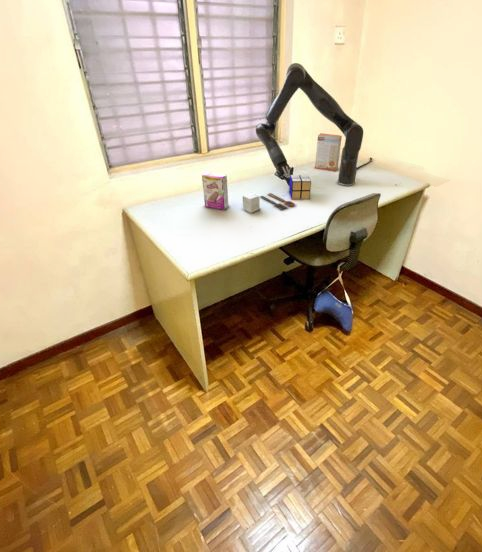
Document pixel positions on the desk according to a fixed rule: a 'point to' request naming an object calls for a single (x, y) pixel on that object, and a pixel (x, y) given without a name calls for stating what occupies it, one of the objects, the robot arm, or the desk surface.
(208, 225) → the desk surface
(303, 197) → the puzzle cube
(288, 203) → the salad spoon
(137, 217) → the desk surface
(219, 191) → the candy bar box
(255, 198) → the product box
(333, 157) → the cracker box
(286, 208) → the salad fork
